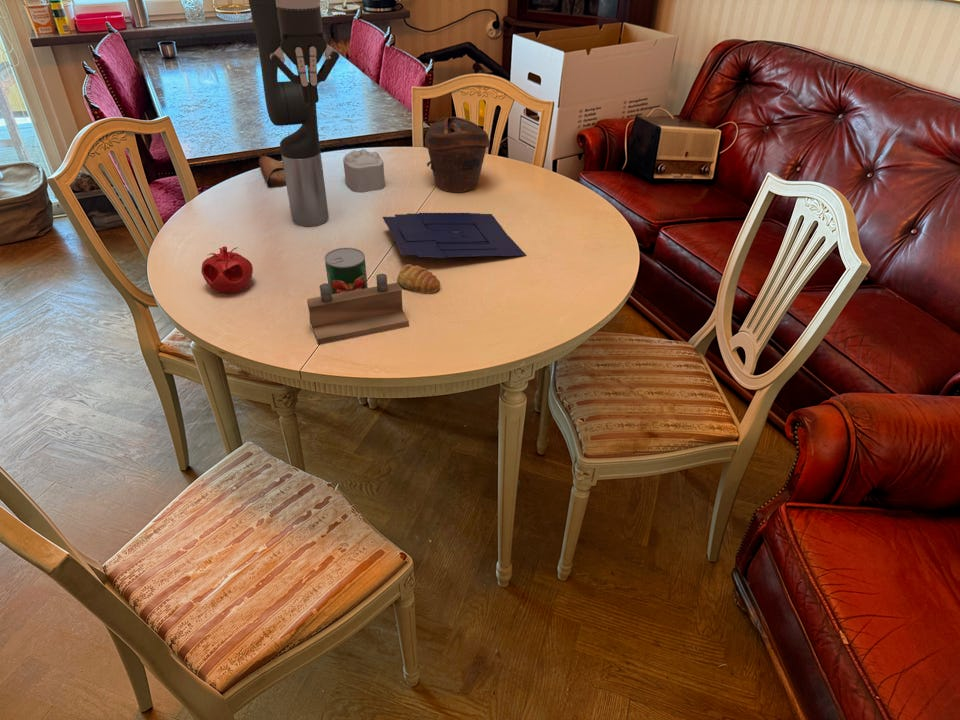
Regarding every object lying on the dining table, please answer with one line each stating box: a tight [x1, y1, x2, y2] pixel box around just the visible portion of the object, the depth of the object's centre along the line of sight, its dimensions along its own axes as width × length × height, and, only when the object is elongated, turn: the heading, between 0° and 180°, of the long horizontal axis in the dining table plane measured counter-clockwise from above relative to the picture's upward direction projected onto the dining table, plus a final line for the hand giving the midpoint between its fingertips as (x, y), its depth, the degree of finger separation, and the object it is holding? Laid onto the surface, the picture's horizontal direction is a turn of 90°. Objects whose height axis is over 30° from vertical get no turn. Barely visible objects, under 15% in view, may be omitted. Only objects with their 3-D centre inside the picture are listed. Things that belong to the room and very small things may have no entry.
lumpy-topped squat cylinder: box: [343, 148, 386, 193], centre depth 177 cm, size 10×13×9 cm
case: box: [424, 116, 491, 193], centre depth 176 cm, size 18×20×18 cm
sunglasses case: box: [258, 155, 287, 189], centre depth 181 cm, size 18×7×7 cm
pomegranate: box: [200, 245, 254, 294], centre depth 130 cm, size 10×10×9 cm
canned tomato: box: [323, 247, 369, 295], centre depth 126 cm, size 8×8×11 cm
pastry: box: [396, 264, 441, 294], centre depth 135 cm, size 9×7×4 cm
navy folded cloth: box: [382, 212, 527, 259], centre depth 152 cm, size 24×30×4 cm
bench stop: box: [306, 273, 410, 345], centre depth 121 cm, size 8×18×9 cm, turn 113°
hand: (311, 105), depth 120 cm, fingers closed
